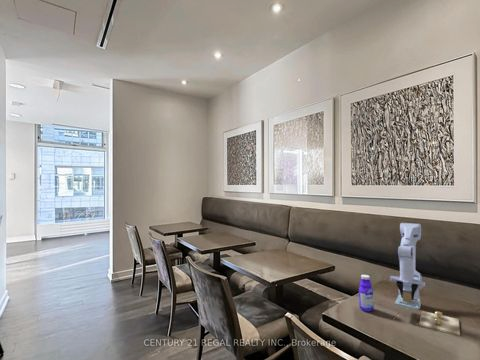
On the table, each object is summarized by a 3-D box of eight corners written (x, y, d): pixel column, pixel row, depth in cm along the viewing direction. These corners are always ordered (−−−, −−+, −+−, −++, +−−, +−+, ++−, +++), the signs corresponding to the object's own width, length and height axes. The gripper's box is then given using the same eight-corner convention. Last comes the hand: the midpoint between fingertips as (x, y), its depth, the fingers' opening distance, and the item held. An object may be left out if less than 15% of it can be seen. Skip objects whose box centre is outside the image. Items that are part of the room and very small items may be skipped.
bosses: (434, 325, 120) (434, 319, 120) (435, 315, 129) (434, 310, 129) (442, 327, 118) (441, 321, 118) (442, 317, 127) (442, 312, 127)
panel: (394, 305, 128) (394, 293, 128) (398, 296, 138) (398, 286, 138) (417, 310, 122) (417, 298, 122) (420, 301, 132) (419, 290, 133)
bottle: (366, 313, 134) (365, 278, 134) (357, 308, 139) (356, 275, 140) (376, 310, 137) (375, 276, 138) (366, 305, 142) (365, 273, 143)
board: (419, 325, 121) (419, 323, 122) (421, 312, 134) (421, 310, 134) (459, 335, 113) (459, 334, 113) (458, 320, 125) (458, 319, 125)
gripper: (388, 269, 132) (389, 297, 132) (423, 275, 123) (424, 304, 123) (391, 266, 138) (391, 292, 137) (424, 271, 129) (425, 299, 128)
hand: (407, 298), depth 130 cm, fingers closed on panel, 4 cm apart
